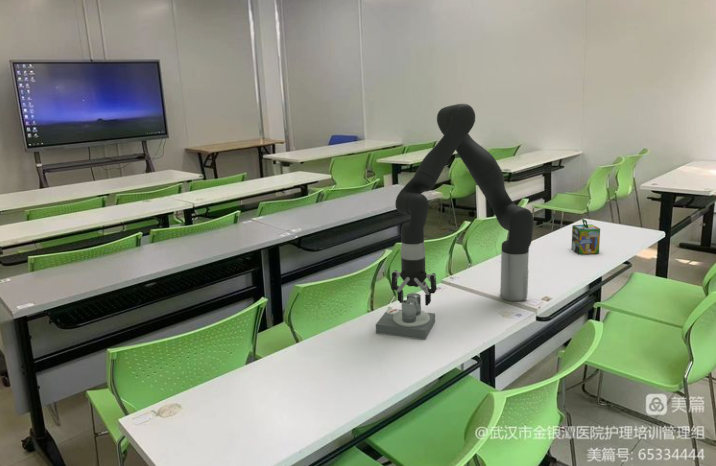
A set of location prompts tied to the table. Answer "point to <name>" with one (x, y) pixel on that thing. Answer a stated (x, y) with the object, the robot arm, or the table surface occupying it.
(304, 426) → the table surface
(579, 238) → the colorful box with handle
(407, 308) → the cylinder
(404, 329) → the scale
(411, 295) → the cylinder
